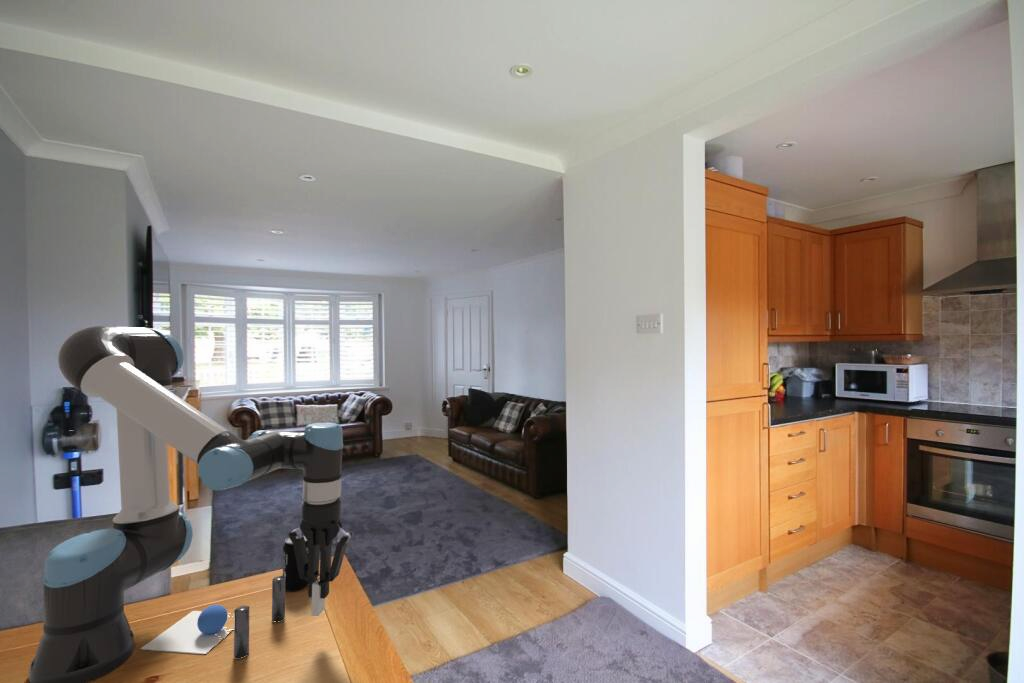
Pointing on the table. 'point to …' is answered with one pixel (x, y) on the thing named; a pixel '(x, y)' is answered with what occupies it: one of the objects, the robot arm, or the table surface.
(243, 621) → the post
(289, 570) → the beverage can
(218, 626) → the ball
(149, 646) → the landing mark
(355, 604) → the table surface
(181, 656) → the table surface
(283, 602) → the post
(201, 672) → the table surface
